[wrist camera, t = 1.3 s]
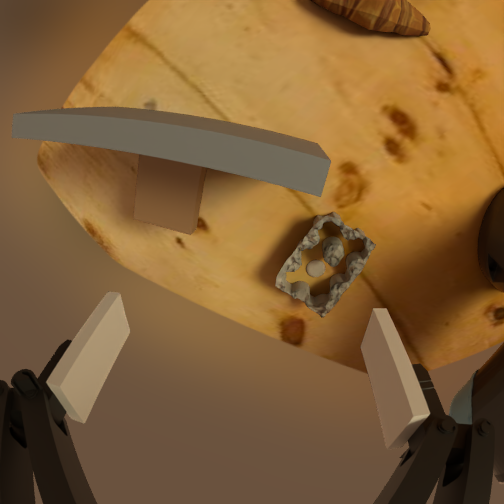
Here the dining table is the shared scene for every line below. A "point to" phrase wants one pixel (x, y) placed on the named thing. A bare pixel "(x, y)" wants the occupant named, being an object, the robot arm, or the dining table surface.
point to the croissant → (380, 15)
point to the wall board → (181, 154)
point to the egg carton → (316, 268)
